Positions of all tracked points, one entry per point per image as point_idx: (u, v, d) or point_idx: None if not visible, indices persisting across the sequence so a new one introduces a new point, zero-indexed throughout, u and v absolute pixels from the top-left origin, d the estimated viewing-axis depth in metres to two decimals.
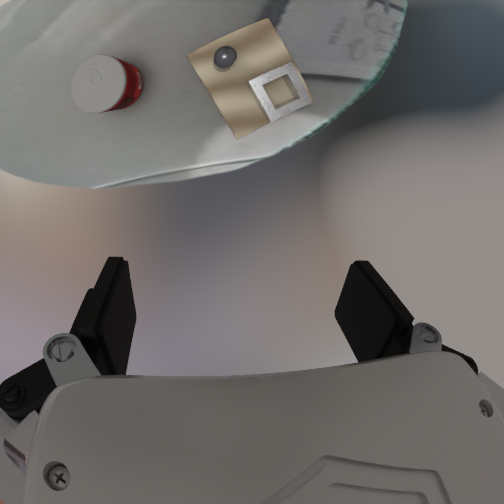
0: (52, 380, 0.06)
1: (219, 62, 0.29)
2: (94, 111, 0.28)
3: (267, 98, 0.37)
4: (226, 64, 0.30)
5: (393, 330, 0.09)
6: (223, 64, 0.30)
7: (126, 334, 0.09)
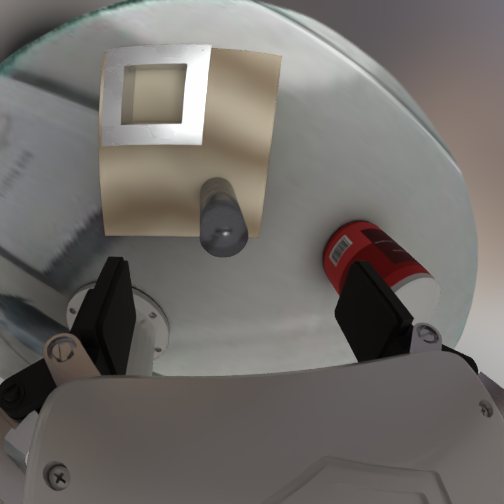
0: (52, 380, 0.06)
1: (244, 229, 0.16)
2: (437, 286, 0.20)
3: (188, 92, 0.16)
4: (234, 218, 0.16)
5: (393, 330, 0.09)
6: (239, 221, 0.16)
7: (126, 334, 0.09)
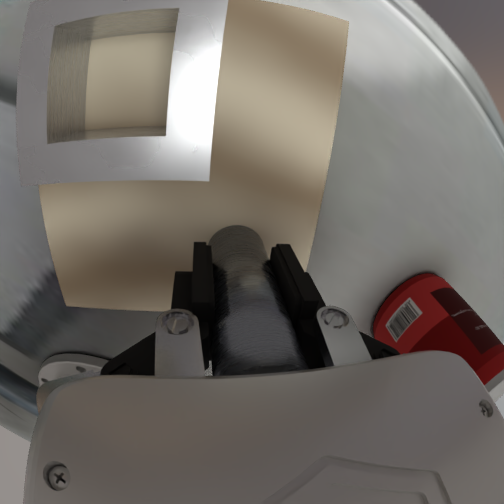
0: (154, 345, 0.07)
1: None
2: None
3: (179, 67, 0.07)
4: (289, 368, 0.07)
5: (297, 312, 0.09)
6: None
7: None
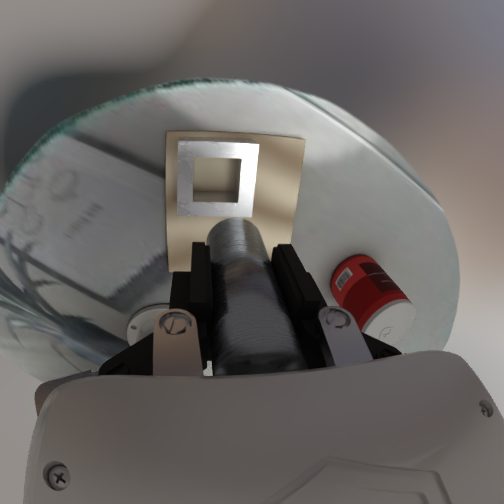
0: (152, 346, 0.07)
1: (301, 367, 0.08)
2: (412, 307, 0.29)
3: (242, 180, 0.25)
4: (284, 354, 0.07)
5: (298, 312, 0.09)
6: (294, 357, 0.07)
7: None
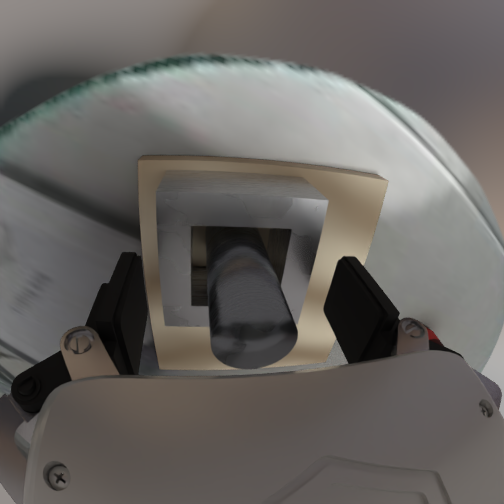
0: (67, 371, 0.06)
1: (291, 331, 0.09)
2: None
3: (289, 269, 0.13)
4: (275, 316, 0.08)
5: (378, 325, 0.09)
6: (285, 320, 0.08)
7: (139, 328, 0.10)
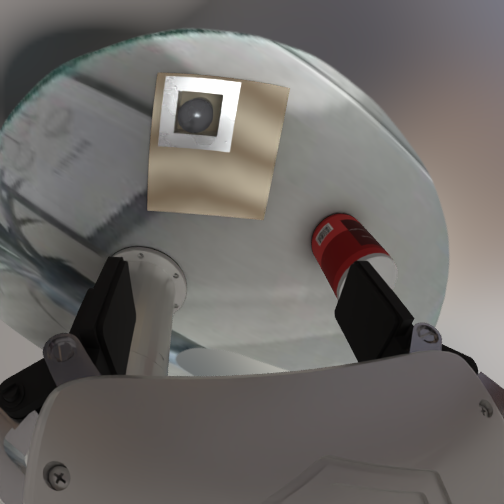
0: (52, 380, 0.06)
1: (210, 111, 0.20)
2: (394, 265, 0.29)
3: (222, 115, 0.25)
4: (203, 102, 0.20)
5: (393, 330, 0.09)
6: (207, 105, 0.20)
7: (126, 334, 0.09)
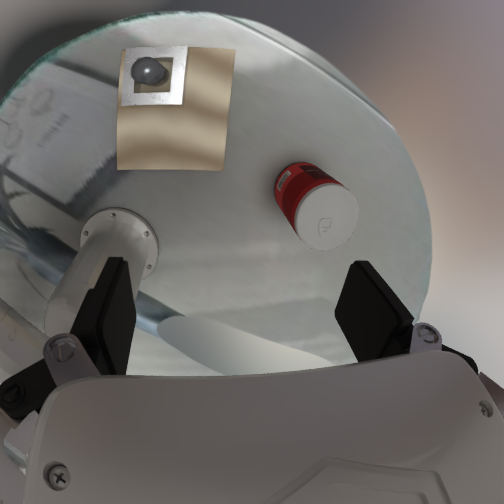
0: (52, 380, 0.06)
1: (156, 64, 0.21)
2: (352, 195, 0.29)
3: (173, 74, 0.26)
4: (150, 58, 0.21)
5: (393, 330, 0.09)
6: (153, 60, 0.21)
7: (126, 334, 0.09)
